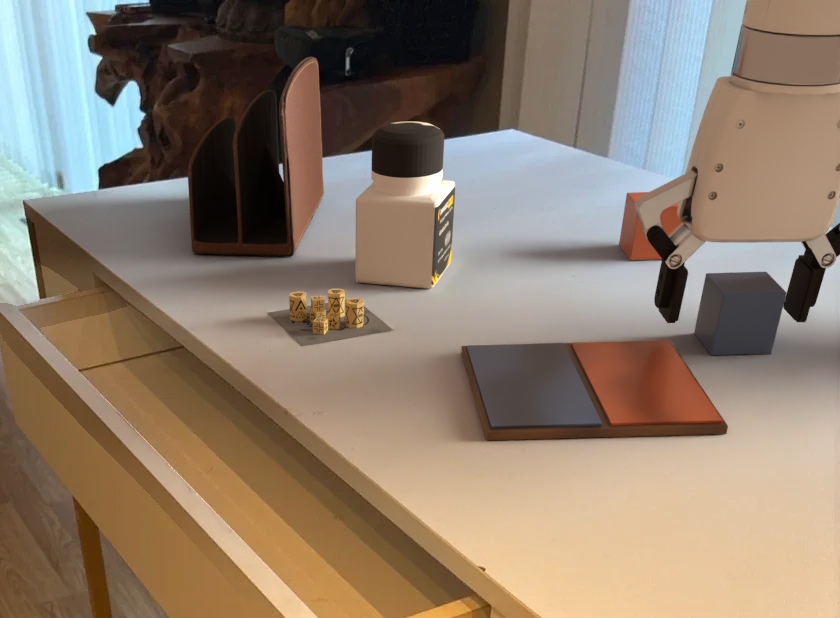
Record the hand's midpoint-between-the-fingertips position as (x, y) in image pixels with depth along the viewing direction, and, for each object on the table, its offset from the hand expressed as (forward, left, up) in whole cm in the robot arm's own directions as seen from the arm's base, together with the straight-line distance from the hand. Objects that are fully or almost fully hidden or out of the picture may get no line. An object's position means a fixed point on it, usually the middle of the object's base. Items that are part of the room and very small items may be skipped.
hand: (730, 316), depth 85 cm
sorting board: (+12, +8, -2) cm, 15 cm away
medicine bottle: (+23, -18, -2) cm, 30 cm away
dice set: (+30, -7, -2) cm, 31 cm away
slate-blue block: (-1, 0, -2) cm, 2 cm away
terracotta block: (0, -22, -2) cm, 22 cm away
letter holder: (+37, -34, -2) cm, 50 cm away
